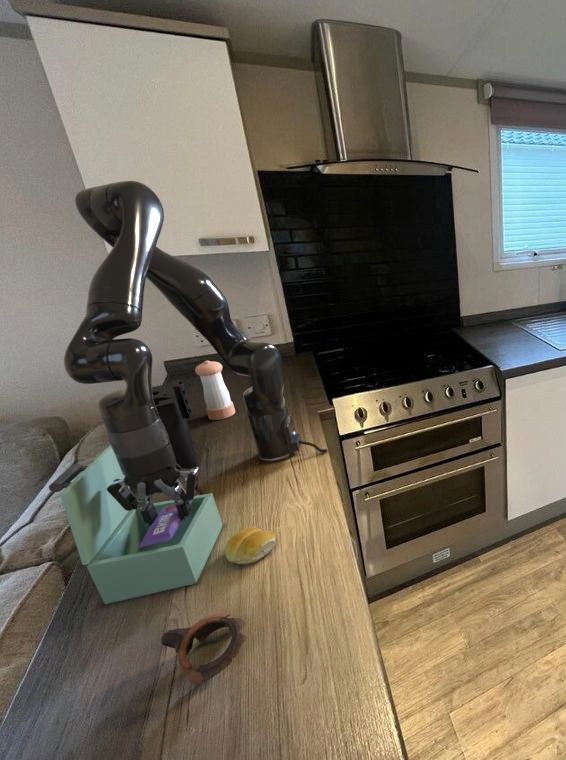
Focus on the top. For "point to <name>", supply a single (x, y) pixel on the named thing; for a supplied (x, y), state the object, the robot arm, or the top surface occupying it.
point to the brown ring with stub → (200, 631)
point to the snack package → (163, 526)
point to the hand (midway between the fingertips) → (170, 519)
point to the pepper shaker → (215, 391)
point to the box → (155, 553)
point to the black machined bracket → (176, 421)
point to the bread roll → (249, 545)
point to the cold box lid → (91, 502)
